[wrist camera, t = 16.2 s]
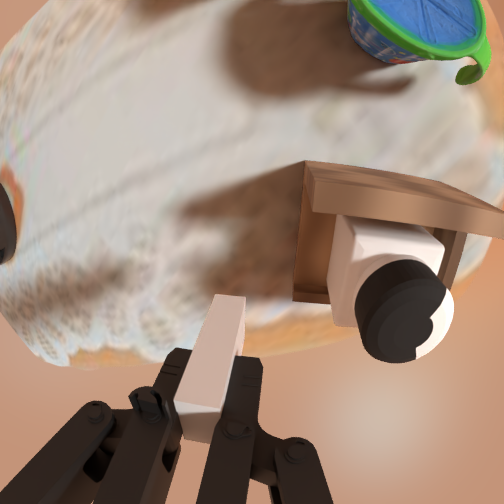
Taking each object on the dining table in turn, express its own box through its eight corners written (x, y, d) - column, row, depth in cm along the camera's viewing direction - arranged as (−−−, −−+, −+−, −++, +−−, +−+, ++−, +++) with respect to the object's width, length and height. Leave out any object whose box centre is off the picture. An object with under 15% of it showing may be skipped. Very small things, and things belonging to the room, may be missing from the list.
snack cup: (284, 12, 19) (278, -44, 10) (348, -40, 15) (366, -95, 6) (413, 121, 22) (471, 120, 12) (465, 61, 18) (524, 45, 8)
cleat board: (292, 280, 30) (290, 363, 19) (304, 160, 25) (315, 180, 14) (415, 289, 28) (458, 363, 17) (440, 181, 23) (515, 217, 12)
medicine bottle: (325, 281, 26) (340, 376, 15) (337, 206, 24) (372, 270, 13) (394, 286, 26) (438, 374, 15) (411, 216, 23) (483, 280, 12)
